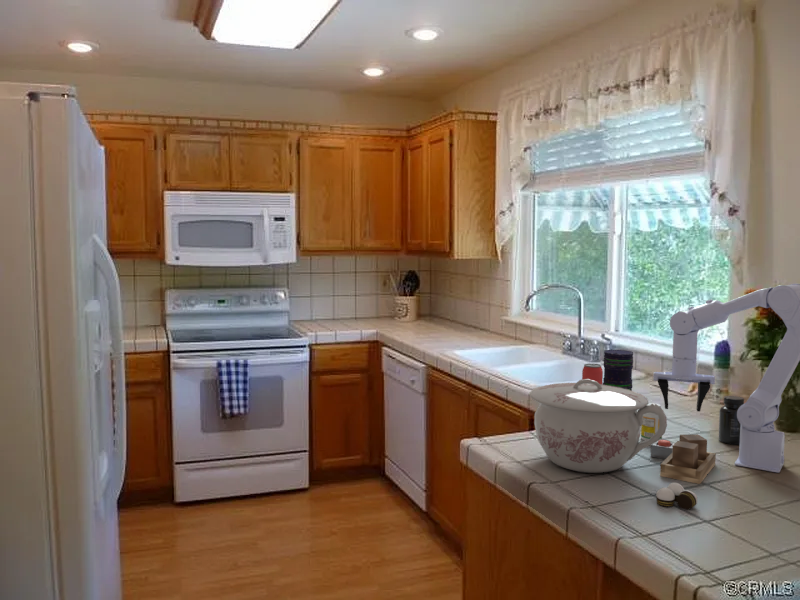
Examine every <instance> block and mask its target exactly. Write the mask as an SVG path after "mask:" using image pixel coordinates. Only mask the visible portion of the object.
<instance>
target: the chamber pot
mask: <svg viewBox="0 0 800 600" xmlns="http://www.w3.org/2000/svg"><path fill="white" fill-rule="evenodd" d="M528 396H530V398H531V399H532V400H533V401H535V402H537V403H538V404H539V406H538V407H537V409H536V411H535V412H534V422H533V423H534V429H535V434H536V440H537V441H538V443H539V445H540V447H541V448H542V449H543V452H544V453H545V455H546V456H547V458H548V459H549V460H550V461H551V462H552V463H553V464H555V465H556V466H558V467H561V468H563V469H567V470H569V471H573V472H578V473H583V474H603V472H604V473H608V472H613V471H616V470H619V469H621V468H622V467H623V466H625V464H627V462H628V461H630V460H632V459H633V458H634V457H635V456H636V455H637V454H638V453H640V452H641V451H642V450H643V449H645V448H648V447H649V446H651V444H653V443H655V442H657V441H658V440H659V439H660V437H661V436H662V437H663V436H664V434H665V433H666V432H667V431H666V430H667V428H668V418H667V416H666V413H665V411H664V409H662V406H661V407H659V406H658V405H657V404H658V403H656V404H654V403H655V402H651V403H652V404H651V405H647V404H649V403H650V402H649V399H648V397H646V396H645V395H643V394H641V393H639V392H636V391H634V390H632V391H631V390H628V389H625V388H620V387H616V386H610V385H603V383H602V384H599V383H598V382H596V381H594V380H590V379H582V378H581V379H579V380H578V381H576V382H558V383H551V384H546V385H541V386H538V387H535V388H533V389H532V390H530V392H529V394H528ZM646 405H647V406H646ZM646 413H655V414H657V415H658V417H659V429H658V432H656V433H655V434H654V435H653V436H652V437H651V438H650V439H648V440H642V441H640V439H641V425H642V424H643V415H644V414H646Z"/></svg>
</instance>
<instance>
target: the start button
mask: <svg viewBox="0 0 800 600" xmlns="http://www.w3.org/2000/svg"><path fill="white" fill-rule="evenodd" d="M670 442H671V441H669V440H666V439H662V440H659V441H658V445H661V446H666V447H670Z"/></svg>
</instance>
